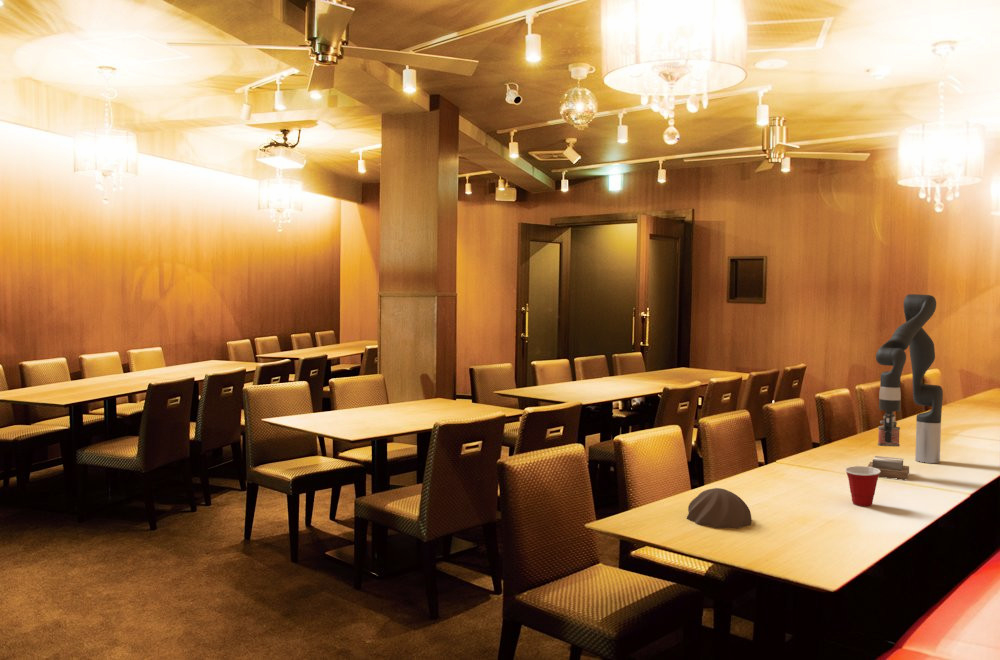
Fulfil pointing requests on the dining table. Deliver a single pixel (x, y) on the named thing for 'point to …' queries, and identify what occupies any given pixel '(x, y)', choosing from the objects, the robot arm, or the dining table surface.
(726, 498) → the decorative dome
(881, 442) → the lighter
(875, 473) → the plastic cup
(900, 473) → the plinth
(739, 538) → the dining table surface
